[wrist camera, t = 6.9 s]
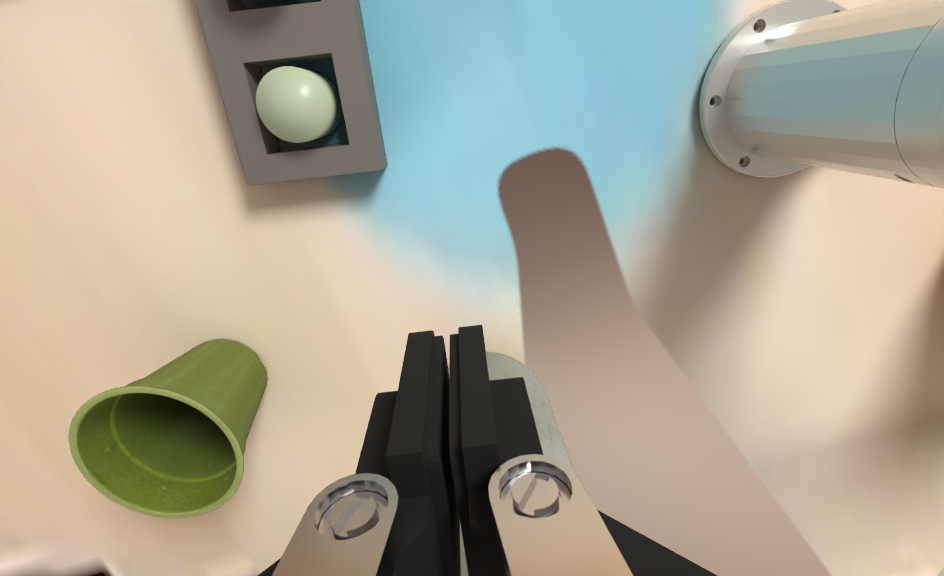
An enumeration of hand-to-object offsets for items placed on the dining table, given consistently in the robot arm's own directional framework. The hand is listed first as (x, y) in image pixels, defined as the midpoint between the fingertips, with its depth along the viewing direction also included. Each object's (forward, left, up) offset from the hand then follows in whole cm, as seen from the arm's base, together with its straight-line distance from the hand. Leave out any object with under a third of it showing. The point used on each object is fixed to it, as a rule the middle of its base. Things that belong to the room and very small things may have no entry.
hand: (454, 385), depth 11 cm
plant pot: (+23, +15, -29) cm, 40 cm away
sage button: (+10, -7, -29) cm, 31 cm away
